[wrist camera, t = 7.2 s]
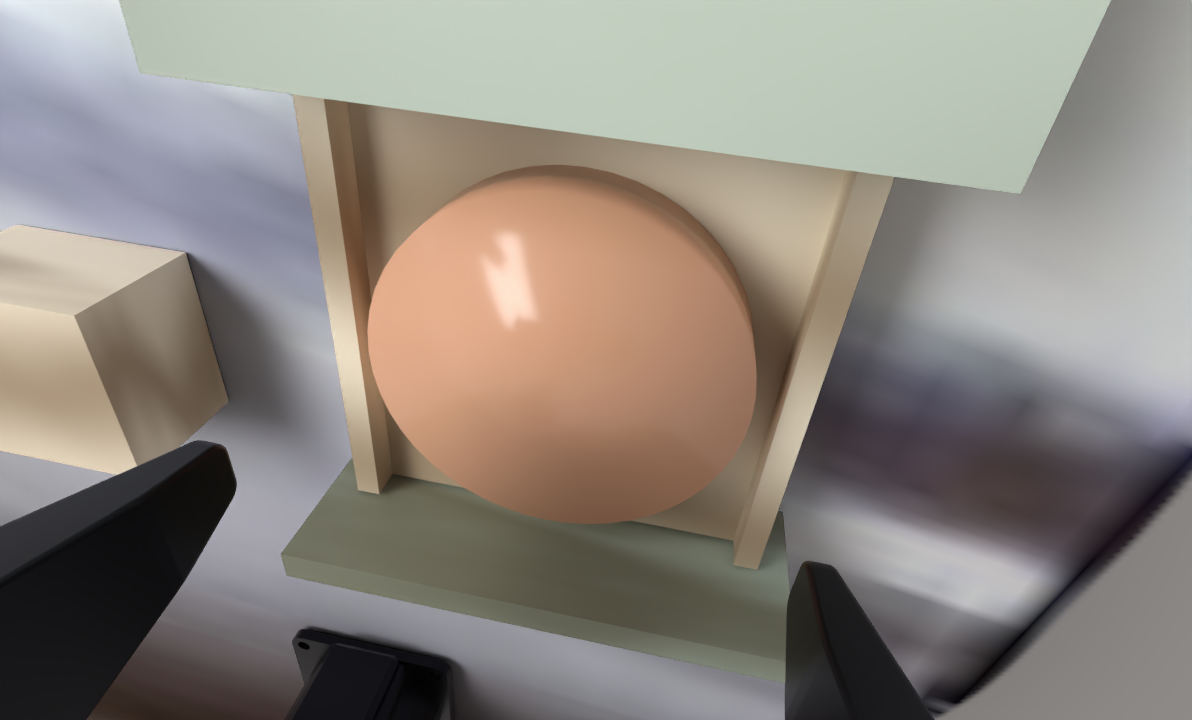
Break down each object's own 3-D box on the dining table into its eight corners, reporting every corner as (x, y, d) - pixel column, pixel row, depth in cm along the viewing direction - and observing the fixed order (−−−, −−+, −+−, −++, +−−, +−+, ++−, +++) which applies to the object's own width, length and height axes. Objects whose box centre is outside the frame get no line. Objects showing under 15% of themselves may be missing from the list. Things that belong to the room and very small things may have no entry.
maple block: (228, 401, 20) (142, 480, 17) (82, 374, 20) (-25, 445, 17) (185, 252, 17) (74, 315, 14) (17, 224, 18) (-124, 279, 15)
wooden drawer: (769, 549, 19) (778, 702, 15) (375, 472, 20) (292, 596, 16) (1003, -110, 10) (1165, -141, 6) (284, -177, 11) (58, -237, 8)
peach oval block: (797, 196, 12) (805, 228, 11) (714, 503, 16) (713, 552, 15) (384, 137, 13) (343, 160, 11) (413, 446, 17) (386, 488, 16)
